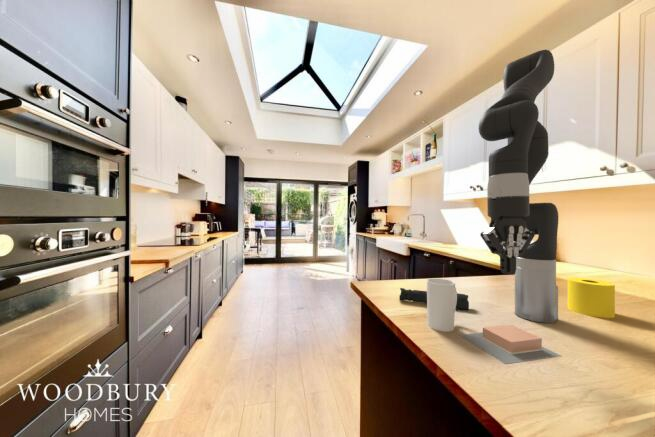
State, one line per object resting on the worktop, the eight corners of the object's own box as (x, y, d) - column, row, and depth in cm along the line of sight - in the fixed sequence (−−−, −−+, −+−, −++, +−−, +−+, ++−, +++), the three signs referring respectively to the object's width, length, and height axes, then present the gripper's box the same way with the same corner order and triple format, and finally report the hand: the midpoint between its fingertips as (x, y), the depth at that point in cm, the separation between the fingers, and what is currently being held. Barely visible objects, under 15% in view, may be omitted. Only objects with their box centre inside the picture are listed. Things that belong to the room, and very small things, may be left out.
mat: (506, 331, 62) (506, 329, 62) (561, 357, 50) (561, 355, 50) (459, 336, 59) (458, 335, 59) (505, 366, 47) (505, 363, 47)
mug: (443, 335, 59) (444, 286, 59) (420, 325, 65) (421, 280, 65) (468, 327, 64) (468, 281, 64) (445, 318, 70) (445, 276, 70)
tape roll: (625, 318, 71) (625, 285, 71) (590, 317, 71) (590, 285, 71) (589, 306, 81) (589, 277, 81) (558, 305, 81) (558, 277, 81)
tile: (482, 338, 57) (510, 335, 59) (511, 354, 50) (541, 350, 52) (482, 327, 57) (510, 324, 59) (511, 342, 50) (541, 338, 52)
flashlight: (469, 313, 74) (469, 297, 74) (399, 303, 83) (399, 288, 83) (467, 308, 79) (467, 292, 79) (401, 299, 87) (401, 285, 87)
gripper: (514, 197, 59) (515, 268, 60) (469, 197, 57) (469, 271, 57) (549, 194, 52) (549, 275, 52) (498, 193, 49) (499, 279, 49)
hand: (508, 273), depth 54 cm, fingers closed
